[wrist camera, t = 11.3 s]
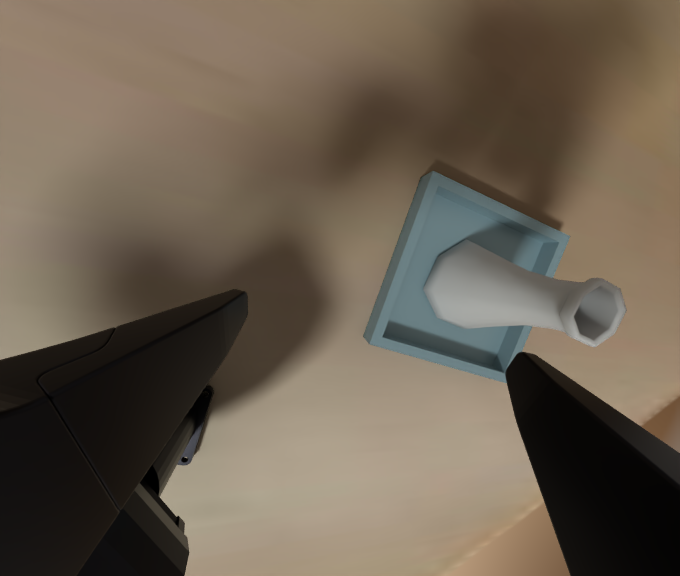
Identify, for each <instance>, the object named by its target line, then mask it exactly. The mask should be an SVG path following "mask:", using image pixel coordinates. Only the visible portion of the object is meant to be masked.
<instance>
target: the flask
mask: <svg viewBox="0 0 680 576" xmlns="http://www.w3.org/2000/svg"><path fill="white" fill-rule="evenodd" d="M423 290H424V292H425V294H426V296H427V298H428V300H429V302H430V304H431V306H432V308H433V310H434V313H435V315H436V317H437V318H439V319H441V320H444V321H446V322H449V323H451V324H453V325H456V326H458V327H461V328H463V329H472V328H483V327H495V326H520V325H527V326H535V327H542V328H550V329H555V330H559V331H562V332H565V333H566V334H567V335H568V336H570V337H571V338H573V339H576V340H578V341H580V342H582V343H584V344H586V345H589V346H591V347H596V346H598V345H599V344H600V343H602V342H603V341H605V340H606V339H608V338H609V337H611V336H612V335H614V334H615V332H616V330H617V328H618V326H619V324H620V322H621V320H622V318H623V316H624V315H625V313H626V311H627V310H626V306H625V303H624V299H623V296H622V293H621V289H620V288H618V287H617V286H615V285H613V284H611V283H610V282H608V281H606V280H604V279H602V278H591V279H589V280H587V281H586V282H572V281H565V280H558V279H554V278H551V277H548V276H544V275H541V274H538V273H534V272H531V271H528V270H526V269H524V268H522V267H520V266H518V265H516V264H514V263H511V262H509V261H507V260H505V259H504V258H502V257H500V256H498V255H496V254H494V253H492V252H490V251H488V250H486V249H484V248H483V247H481V246H479V245H477V244H475V243H473V242H471V241H469V240H467V239H466V240H464V241H463V242H461V243H459V244H458V245H456V246H454V247H453V248H451V249H450V250H448V251H446V252H445V253H443V254H441V255H440V256H438V257H437V259H436V261H435V264H434V266H433V268H432V270H431V272H430V275H429V277H428V279H427V281H426V284H425V286H424V288H423Z"/></svg>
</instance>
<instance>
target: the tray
mask: <svg viewBox="0 0 680 576" xmlns="http://www.w3.org/2000/svg"><path fill="white" fill-rule="evenodd" d="M569 238H570V236H568V235H566V234H564V233H562V232H560V231H558V230H556V229H554V228H552V227H550V226H548V225H545V224H543V223H541V222H539V221H537V220H535V219H533V218H531V217H529V216H527V215H525V214H522V213H520V212H518V211H516V210H514V209H512V208H510V207H508V206H506V205H504V204H502V203H500V202H497V201H495V200H493V199H491V198H489V197H487V196H485V195H483V194H481V193H479V192H477V191H474V190H472V189H470V188H468V187H466V186H464V185H462V184H460V183H458V182H456V181H454V180H451V179H449V178H447V177H445V176H443V175H441V174H439V173H437V172H435V171H432V172H430V173H428V174H426V175H425V176H423V177H421V179H420V181H419V184H418V187H417V190H416V192H415V195H414V198H413V201H412V203H411V206H410V209H409V212H408V214H407V217H406V220H405V223H404V225H403V228H402V231H401V234H400V236H399V239H398V242H397V245H396V247H395V250H394V253H393V256H392V258H391V261H390V264H389V267H388V269H387V272H386V275H385V278H384V280H383V283H382V286H381V289H380V291H379V294H378V297H377V300H376V302H375V305H374V308H373V311H372V313H371V316H370V319H369V322H368V324H367V327H366V330H365V333H364V335H363V337H364V338H365V339H366V341H367V342H368V343H369V344H370V345H374V346H377V347H381V348H384V349H388V350H391V351H395V352H399V353H402V354H406V355H409V356H413V357H416V358H420V359H423V360H427V361H430V362H434V363H437V364H441V365H444V366H448V367H451V368H455V369H458V370H462V371H465V372H469V373H472V374H476V375H479V376H483V377H487V378H490V379H494V380H497V381H501V382H504V383H507V382H506V377H505V372H506V369H507V367H508V366H509V364H510V363H511V361H512V360H513V358H514V357H515V356H516V354H517V353H519V352H522V350H523V347H524V345H525V342H526V340H527V338H528V335H529V333H530V331H531V328H532V326H527V325H520V326H495V327H483V328H472V329H463V328H461V327H458V326H456V325H453V324H451V323H449V322H446V321H444V320H441V319H439V318H437V317H436V315H435V313H434V310H433V308H432V306H431V304H430V302H429V300H428V298H427V296H426V294H425V292H424V290H423V288H424V286H425V284H426V281H427V279H428V277H429V275H430V272H431V270H432V268H433V266H434V264H435V261H436V259H437V257H438V256H440V255H441V254H443V253H445V252H446V251H448V250H450V249H451V248H453V247H454V246H456V245H458V244H459V243H461V242H463V241H464V240H466V239H467V240H469V241H471V242H473V243H475V244H477V245H479V246H481V247H483V248H484V249H486V250H488V251H490V252H492V253H494V254H496V255H498V256H500V257H502V258H504V259H505V260H507V261H509V262H511V263H514V264H516V265H518V266H520V267H522V268H524V269H526V270H528V271H531V272H534V273H538V274H541V275H544V276H548V277H551V278H553V276H554V274H555V271H556V269H557V267H558V264H559V262H560V260H561V257H562V255H563V252H564V250H565V248H566V245H567V243H568V241H569Z"/></svg>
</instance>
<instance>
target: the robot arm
mask: <svg viewBox="0 0 680 576" xmlns="http://www.w3.org/2000/svg"><path fill="white" fill-rule="evenodd" d="M247 315H248V296H247V293H246V292H245V291H241V290H236V289H233V290H230V291H227V292H224V293H221V294H218V295H214V296H211V297H208V298H205V299H202V300H199V301H196V302H192V303H189V304H186V305H183V306H180V307H177V308H174V309H170V310H167V311H164V312H161V313H158V314H155V315H152V316H148V317H145V318H142V319H139V320H136V321H133V322H129V323H126V324H123V325H120V326H117V327H116V328H110V329H107V330H104V331H101V332H98V333H95V334H91V335H88V336H85V337H82V338H78V339H75V340H72V341H68V342H65V343H61V344H57V345H54V346H50V347H47V348H43V349H39V350H36V351H32V352H28V353H25V354H21V355H17V356H13V357H10V358H6V359H2V360H0V576H184V575H185V570H186V565H187V561H188V556H189V547H188V539H187V537H186V536H185V535H184V527H185V523H184V521H183V520H182V519H181V518H180V517H179V516H177V517H176V516H175V515H174V514H173V512H172V511H171V510H170V509H169V508H168V507H167V505H166V504H165V503H164V502H163V501H162V500H161V498H160V495H161V493H162V491H163V490H164V488H165V486H166V484H167V482H168V480H169V478H170V477H171V475H172V473H173V471H174V469H175V467H176V465H188V464H189V463H190V462H191V461H192V458H193V456H194V453H195V450H196V447H197V444H198V441H199V437H200V434H201V431H202V428H203V425H204V422H205V418H206V415H207V412H208V409H209V406H210V403H211V400H212V396H213V393H214V390H213V388H212V387H211V386H208V385H207V384H208V382H209V381H210V379H211V378H212V376H213V375H214V373H215V372H216V370H217V369H218V368H219V366H220V365H221V363H222V362H223V360H224V359H225V357H226V356H227V354H228V352H229V350H230V348H231V347H232V345H233V343H234V341H235V339H236V337H237V335H238V333H239V331H240V330H241V328H242V326H243V324H244V322H245V320H246V318H247ZM505 377H506V382H507V386H508V390H509V394H510V398H511V402H512V406H513V410H514V415H515V418H516V422H517V425H518V428H519V431H520V434H521V437H522V440H523V443H524V445H525V448H526V451H527V454H528V457H529V460H530V462H531V465H532V468H533V471H534V474H535V477H536V479H537V482H538V485H539V488H540V491H541V494H542V496H543V499H544V502H545V505H546V508H547V511H548V513H549V516H550V519H551V522H552V524H553V527H554V530H555V533H556V536H557V539H558V542H559V544H560V547H561V550H562V553H563V556H564V559H565V561H566V564H567V567H568V570H569V573H570V576H680V453H678V452H677V451H676V450H674V449H673V448H671V447H670V446H668V445H667V444H665V443H664V442H663V441H661V440H660V439H658V438H657V437H655V436H654V435H652V434H651V433H649V432H648V431H646V430H645V429H643V428H642V427H641V426H639V425H638V424H636V423H635V422H633V421H632V420H630V419H629V418H627V417H626V416H624V415H623V414H621V413H620V412H619V411H617V410H616V409H614V408H613V407H611V406H610V405H608V404H607V403H605V402H604V401H602V400H601V399H599V398H598V397H597V396H595V395H594V394H592V393H591V392H589V391H588V390H586V389H585V388H583V387H582V386H580V385H579V384H577V383H576V382H575V381H573V380H572V379H570V378H569V377H567V376H566V375H564V374H563V373H561V372H560V371H558V370H557V369H555V368H554V367H553V366H551V365H550V364H548V363H547V362H545V361H544V360H542V359H541V358H539V357H538V356H536V355H534V354H531V353H526V352H519V353H517V354H516V356H515V357H514V358H513V360H512V361H511V363H510V364H509V366H508V367H507V369H506V372H505ZM204 391H206V392H208V393H209V394H208V395H205V394H204V393H203V392H204ZM184 457H187V458H184Z"/></svg>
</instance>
